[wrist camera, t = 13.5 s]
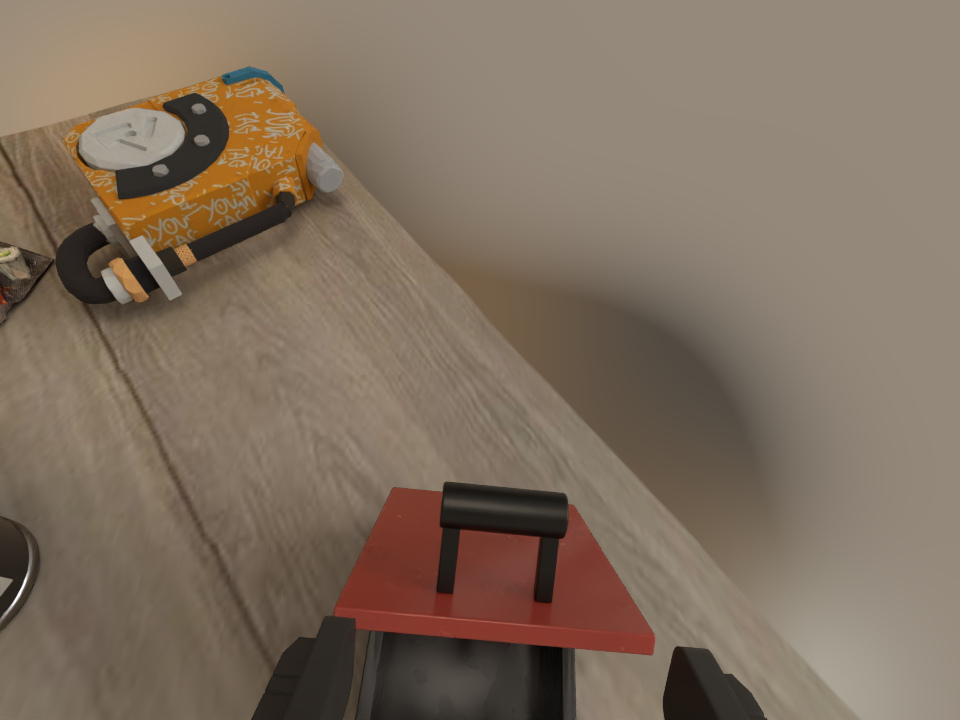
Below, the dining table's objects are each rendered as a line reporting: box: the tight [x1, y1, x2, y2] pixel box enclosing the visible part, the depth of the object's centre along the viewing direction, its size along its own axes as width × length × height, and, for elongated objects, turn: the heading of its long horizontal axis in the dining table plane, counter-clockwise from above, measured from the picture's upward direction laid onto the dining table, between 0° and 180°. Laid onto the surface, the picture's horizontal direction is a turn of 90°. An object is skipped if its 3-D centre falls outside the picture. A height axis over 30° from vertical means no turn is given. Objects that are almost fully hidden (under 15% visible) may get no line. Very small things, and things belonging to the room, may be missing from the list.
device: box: [56, 67, 344, 305], centre depth 53 cm, size 23×8×30 cm
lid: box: [333, 482, 655, 655], centre depth 26 cm, size 15×12×5 cm
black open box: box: [355, 630, 576, 720], centre depth 34 cm, size 14×12×8 cm
